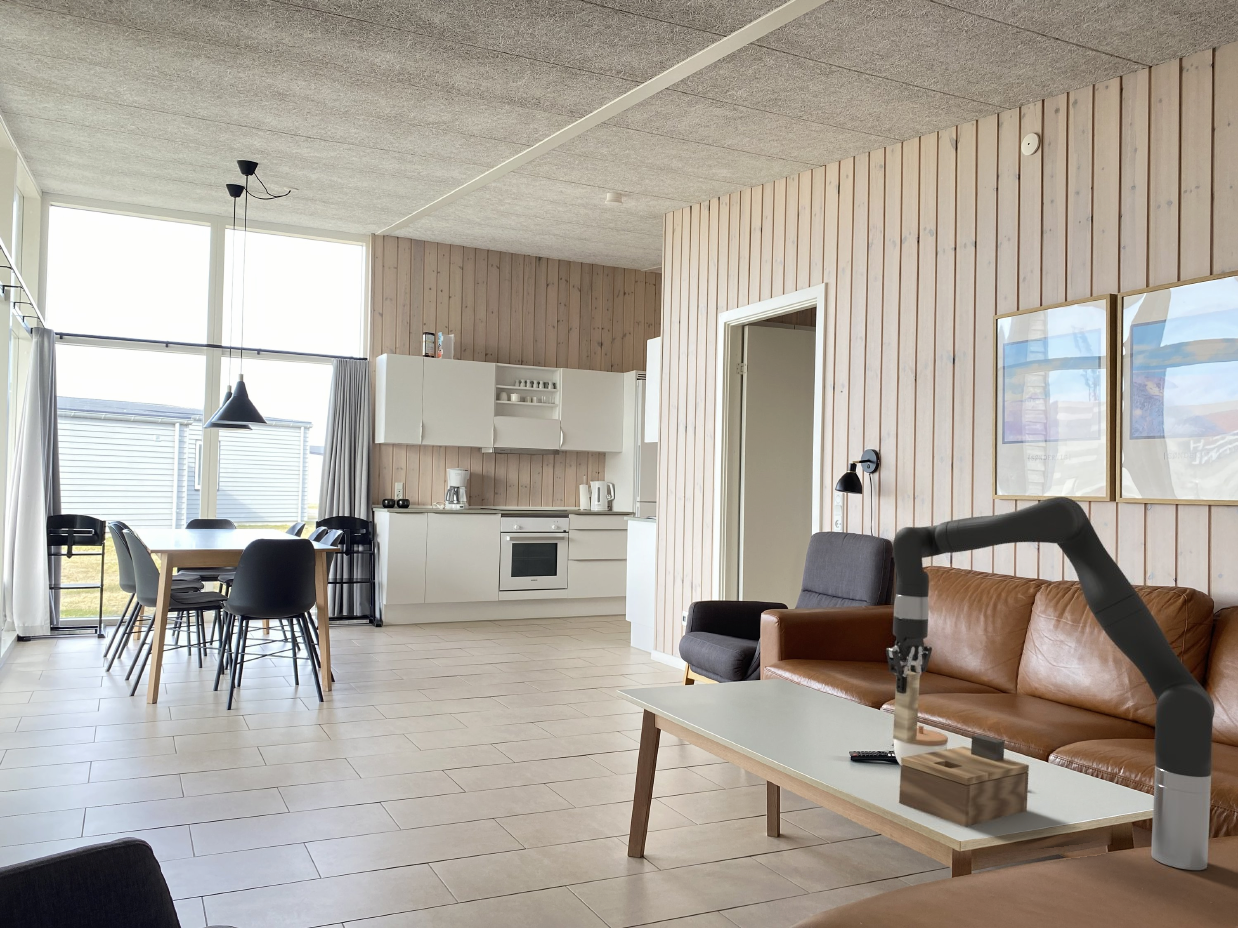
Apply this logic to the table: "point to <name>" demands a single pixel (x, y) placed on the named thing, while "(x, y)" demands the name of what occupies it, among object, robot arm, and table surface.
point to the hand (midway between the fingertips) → (907, 691)
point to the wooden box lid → (968, 762)
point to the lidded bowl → (921, 744)
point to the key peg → (907, 710)
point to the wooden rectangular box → (963, 796)
